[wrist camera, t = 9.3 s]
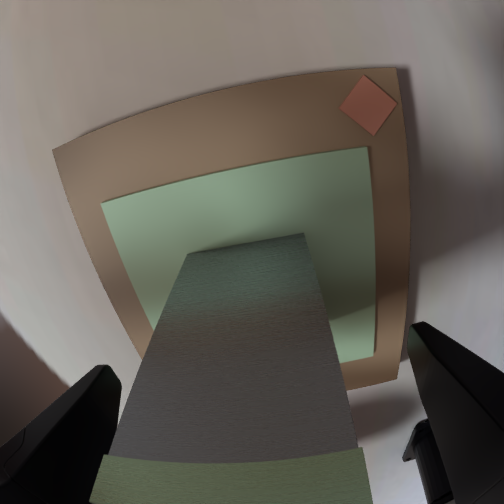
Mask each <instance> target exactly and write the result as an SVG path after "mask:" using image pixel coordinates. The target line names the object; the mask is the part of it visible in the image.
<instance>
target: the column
mask: <svg viewBox="0 0 504 504" xmlns="http://www.w3.org/2000/svg"><path fill="white" fill-rule="evenodd" d="M89 502H91V503H92V504H373V501H372V495H371V490H370V484H369V479H368V473H367V468H366V463H365V458H364V453H363V448H362V447H360V448H358V444H357V439H356V434H355V429H354V424H353V420H352V415H351V410H350V406H349V401H348V397H347V392H346V388H345V384H344V380H343V375H342V371H341V367H340V363H339V359H338V355H337V351H336V347H335V343H334V339H333V335H332V331H331V327H330V323H329V319H328V316H327V312H326V308H325V305H324V301H323V297H322V294H321V290H320V286H319V283H318V279H317V276H316V272H315V269H314V265H313V262H312V259H311V255H310V252H309V248H308V245H307V242H306V238H305V235H304V233H298V234H292V235H287V236H281V237H276V238H270V239H265V240H259V241H254V242H249V243H243V244H238V245H232V246H227V247H222V248H216V249H211V250H206V251H200V252H195V253H190V254H187V256H186V258H185V260H184V262H183V265H182V267H181V269H180V271H179V274H178V276H177V278H176V280H175V283H174V285H173V287H172V290H171V292H170V294H169V296H168V299H167V301H166V304H165V306H164V308H163V311H162V313H161V315H160V318H159V320H158V323H157V325H156V327H155V330H154V332H153V335H152V337H151V340H150V342H149V345H148V347H147V350H146V352H145V355H144V357H143V360H142V362H141V365H140V368H139V370H138V373H137V375H136V378H135V381H134V383H133V386H132V389H131V391H130V394H129V397H128V399H127V402H126V405H125V408H124V410H123V413H122V416H121V419H120V422H119V424H118V427H117V430H116V433H115V436H114V439H113V442H112V445H111V448H110V451H109V454H108V455H104V456H103V459H102V462H101V465H100V468H99V471H98V474H97V477H96V480H95V484H94V487H93V490H92V493H91V497H90V500H89Z"/></svg>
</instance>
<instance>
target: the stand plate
mask: <svg viewBox="0 0 504 504" xmlns="http://www.w3.org/2000/svg"><path fill="white" fill-rule="evenodd" d="M52 151H53V155H54V158H55V162H56V165H57V168H58V172H59V175H60V178H61V181H62V184H63V187H64V190H65V193H66V196H67V199H68V202H69V204H70V207H71V210H72V213H73V215H74V218H75V221H76V223H77V226H78V229H79V231H80V234H81V236H82V239H83V241H84V244H85V246H86V248H87V251H88V253H89V255H90V258H91V260H92V262H93V265H94V267H95V269H96V271H97V274H98V276H99V278H100V280H101V282H102V284H103V287H104V289H105V291H106V293H107V295H108V297H109V299H110V301H111V303H112V305H113V307H114V309H115V311H116V313H117V315H118V317H119V319H120V321H121V323H122V324H123V326H124V328H125V330H126V332H127V334H128V336H129V337H130V339H131V341H132V343H133V345H134V346H135V348H136V350H137V352H138V353H139V355H140V357H141V359H142V360H143V357H144V355H145V352H146V350H147V347H148V345H149V342H150V340H151V337H152V335H153V332H154V330H155V327H156V325H157V323H158V320H159V318H160V315H161V313H162V311H163V308H164V306H165V304H166V301H167V299H168V296H169V294H170V292H171V290H172V287H173V285H174V283H175V280H176V278H177V276H178V274H179V271H180V269H181V267H182V265H183V262H184V260H185V258H186V256H187V254H190V253H195V252H200V251H206V250H211V249H216V248H222V247H227V246H232V245H238V244H243V243H249V242H254V241H259V240H265V239H270V238H276V237H281V236H287V235H292V234H298V233H304V235H305V238H306V242H307V245H308V248H309V252H310V255H311V259H312V262H313V265H314V269H315V272H316V276H317V279H318V283H319V286H320V290H321V294H322V297H323V301H324V305H325V308H326V312H327V316H328V319H329V323H330V327H331V331H332V335H333V339H334V343H335V347H336V351H337V355H338V359H339V363H340V367H341V371H342V375H343V380H344V384H345V388H346V391H348V390H352V389H357V388H362V387H366V386H371V385H375V384H379V383H383V382H387V381H391V380H395V379H397V375H398V370H399V364H400V357H401V350H402V343H403V336H404V328H405V319H406V309H407V297H408V284H409V266H410V185H409V167H408V154H407V143H406V133H405V124H404V116H403V109H402V102H401V95H400V89H399V83H398V77H397V72H396V68H369V69H352V70H340V71H329V72H320V73H312V74H304V75H297V76H290V77H283V78H277V79H271V80H266V81H260V82H255V83H250V84H245V85H241V86H236V87H231V88H227V89H223V90H219V91H214V92H210V93H206V94H203V95H199V96H195V97H191V98H188V99H184V100H181V101H177V102H174V103H171V104H167V105H164V106H161V107H158V108H155V109H152V110H149V111H146V112H143V113H140V114H137V115H134V116H132V117H129V118H126V119H123V120H121V121H118V122H115V123H113V124H110V125H108V126H105V127H103V128H100V129H98V130H95V131H93V132H90V133H88V134H86V135H83V136H81V137H79V138H77V139H74V140H72V141H70V142H68V143H66V144H63V145H61V146H59V147H57V148H55V149H53V150H52Z"/></svg>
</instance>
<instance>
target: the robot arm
mask: <svg viewBox="0 0 504 504" xmlns="http://www.w3.org/2000/svg"><path fill="white" fill-rule="evenodd" d="M407 351H408V355H409V358H410V362H411V365H412V369H413V372H414V376H415V380H416V383H417V387H418V391H419V395H420V398H421V401H422V404H423V406H424V409H425V411H426V414H427V417H428V419H429V421H427V422H424V423H421V424H419V425H417V426H416V427H415V428H414V430H413V433H412V435H411V438H410V440H409V443H408V445H407V447H406V450H405V452H404V454H403V457H402V458H403V461H404V462H406V461H410V460H413V459H416V462H417V466H418V469H419V473H420V476H421V480H422V484H423V488H424V492H425V495H426V499H427V503H428V504H504V373H503V372H502V371H500V370H499V369H497V368H496V367H494V366H493V365H491V364H490V363H488V362H487V361H485V360H484V359H482V358H481V357H479V356H478V355H476V354H475V353H473V352H471V351H470V350H468V349H467V348H465V347H464V346H462V345H461V344H459V343H458V342H456V341H455V340H453V339H451V338H450V337H448V336H447V335H445V334H444V333H442V332H441V331H439V330H437V329H436V328H434V327H433V326H431V325H430V324H428V323H426V322H424V321H422V322H418V323H414V324H412V325H411V326H410V329H409V336H408V343H407ZM121 390H122V385H121V382H120V380H119V379H118V377H117V376H116V374H115V373H114V371H113V370H112V368H111V367H110V366H109V365H97V366H95V367H94V368H93V369H92V370H90V371H89V372H88V373H87V374H86V375H85V376H83V377H82V378H81V379H80V380H79V381H78V382H76V383H75V384H74V385H73V386H72V387H71V388H69V389H68V390H67V391H66V392H65V393H64V394H62V395H61V396H60V397H59V398H58V399H57V400H55V401H54V402H53V403H52V404H51V405H50V406H49V407H47V408H46V409H45V410H44V411H43V412H41V413H40V414H39V415H38V416H37V417H36V418H35V419H33V420H32V421H31V422H30V423H29V424H28V425H26V427H24V428H23V429H22V430H21V431H20V432H18V433H17V434H16V435H15V436H14V437H12V438H11V439H10V440H9V441H8V442H6V443H5V444H4V445H2V446H1V447H0V504H92V503H91V502H89V500H90V497H91V493H92V490H93V487H94V484H95V480H96V477H97V474H98V471H99V468H100V465H101V462H102V459H103V456H104V455H108V454H109V451H110V448H111V445H112V442H113V439H114V436H115V433H116V430H117V424H118V415H119V406H120V398H121Z"/></svg>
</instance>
